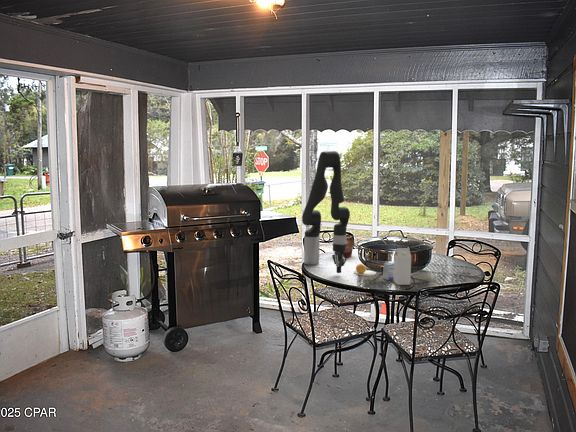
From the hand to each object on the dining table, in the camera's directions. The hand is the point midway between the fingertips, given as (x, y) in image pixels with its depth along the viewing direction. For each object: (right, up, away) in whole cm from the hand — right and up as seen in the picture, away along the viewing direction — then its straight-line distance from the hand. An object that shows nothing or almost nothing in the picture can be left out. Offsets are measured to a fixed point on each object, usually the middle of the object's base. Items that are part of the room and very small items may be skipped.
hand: (338, 272), depth 282 cm
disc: (+16, -1, +7) cm, 17 cm away
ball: (+13, +2, +5) cm, 14 cm away
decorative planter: (+9, +5, +53) cm, 54 cm away
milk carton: (+32, -4, -15) cm, 35 cm away
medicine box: (+28, -3, -5) cm, 29 cm away
